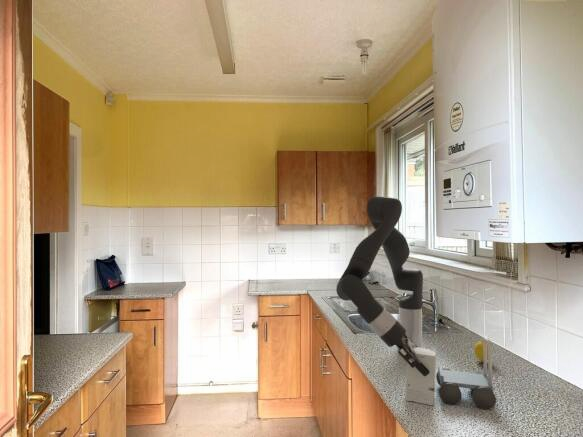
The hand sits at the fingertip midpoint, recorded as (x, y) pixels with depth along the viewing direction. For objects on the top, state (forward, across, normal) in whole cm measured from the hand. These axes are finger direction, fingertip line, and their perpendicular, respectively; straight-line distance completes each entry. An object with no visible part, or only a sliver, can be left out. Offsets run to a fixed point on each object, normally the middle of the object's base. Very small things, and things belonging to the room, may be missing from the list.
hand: (426, 368), depth 112 cm
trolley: (+15, +5, -1) cm, 16 cm away
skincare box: (+6, 0, +8) cm, 10 cm away
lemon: (+23, +37, -9) cm, 44 cm away
